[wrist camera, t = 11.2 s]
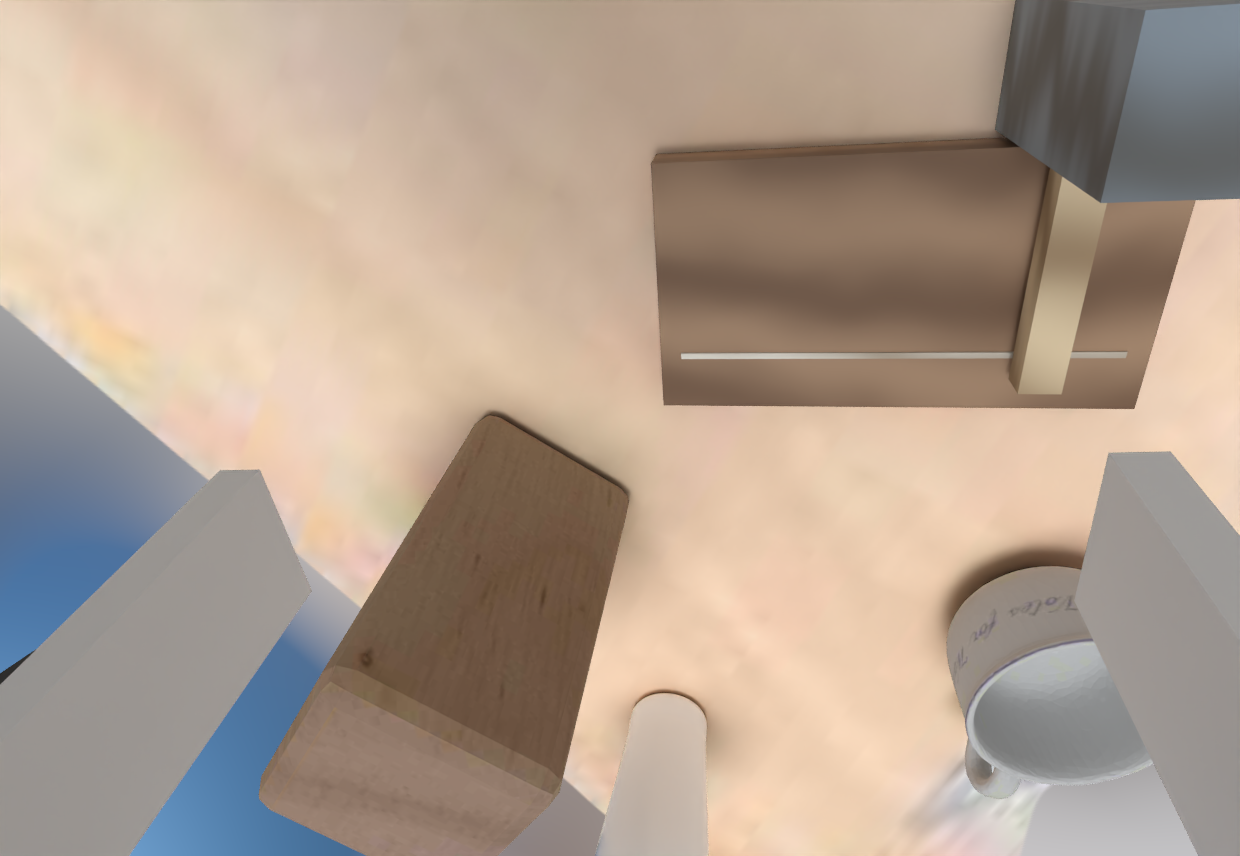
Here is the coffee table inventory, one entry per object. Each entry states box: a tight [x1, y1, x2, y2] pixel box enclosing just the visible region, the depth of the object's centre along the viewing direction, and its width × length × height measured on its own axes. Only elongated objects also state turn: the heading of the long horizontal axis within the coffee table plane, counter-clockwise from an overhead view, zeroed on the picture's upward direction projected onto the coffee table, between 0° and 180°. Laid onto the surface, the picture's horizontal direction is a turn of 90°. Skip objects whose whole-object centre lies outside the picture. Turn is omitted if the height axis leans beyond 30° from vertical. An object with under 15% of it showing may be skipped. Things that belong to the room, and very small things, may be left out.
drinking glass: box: [595, 693, 709, 856], centre depth 48 cm, size 7×7×15 cm
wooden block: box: [259, 415, 629, 856], centre depth 39 cm, size 10×10×20 cm
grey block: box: [995, 0, 1240, 394], centre depth 29 cm, size 16×5×12 cm, turn 4°
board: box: [651, 138, 1195, 409], centre depth 36 cm, size 12×22×2 cm, turn 94°
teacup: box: [947, 566, 1153, 799], centre depth 43 cm, size 14×11×8 cm
